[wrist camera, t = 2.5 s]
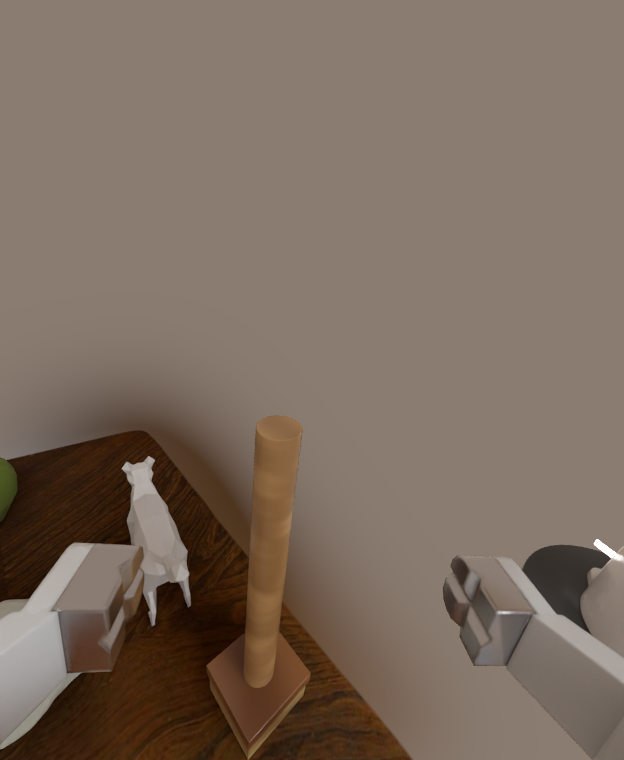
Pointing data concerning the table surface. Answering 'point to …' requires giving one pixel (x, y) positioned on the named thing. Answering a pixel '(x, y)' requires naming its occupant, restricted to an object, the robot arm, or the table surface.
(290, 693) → the wooden post stand
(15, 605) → the decorative stone
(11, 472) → the apple
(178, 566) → the cat figurine
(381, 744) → the table surface
